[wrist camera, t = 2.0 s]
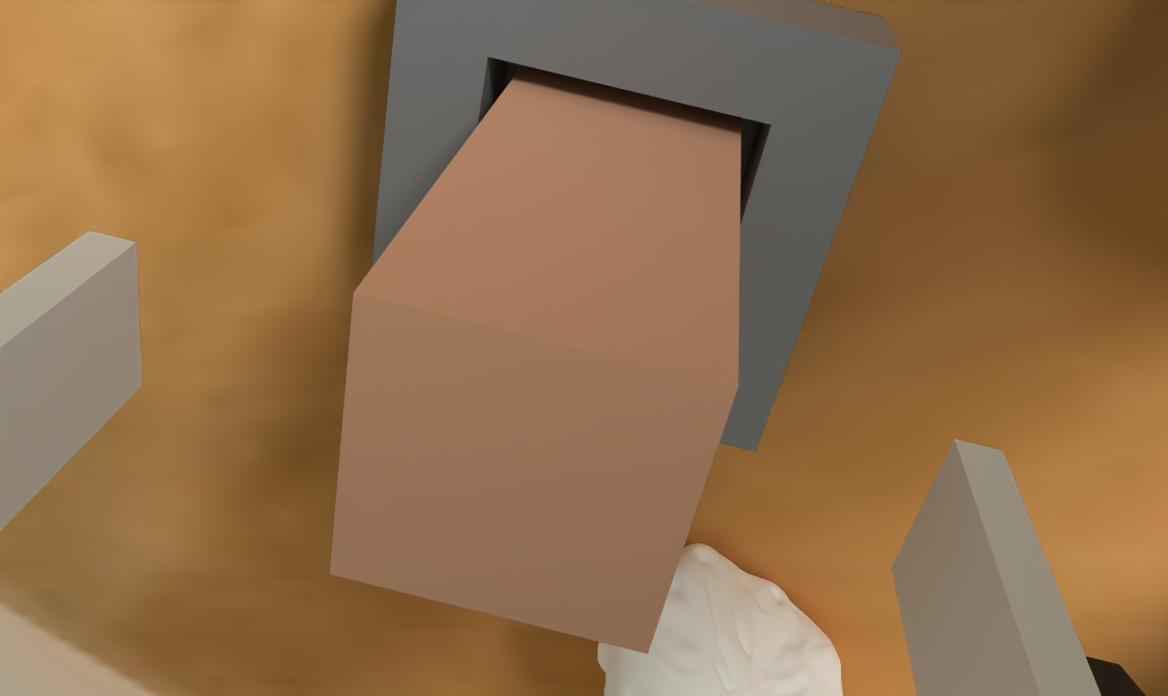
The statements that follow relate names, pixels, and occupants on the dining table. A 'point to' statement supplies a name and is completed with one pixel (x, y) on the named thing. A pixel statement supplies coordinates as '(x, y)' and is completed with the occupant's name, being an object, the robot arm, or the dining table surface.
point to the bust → (725, 640)
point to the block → (548, 363)
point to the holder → (682, 74)
